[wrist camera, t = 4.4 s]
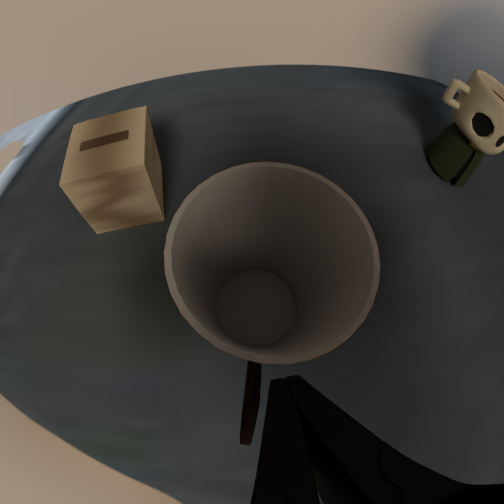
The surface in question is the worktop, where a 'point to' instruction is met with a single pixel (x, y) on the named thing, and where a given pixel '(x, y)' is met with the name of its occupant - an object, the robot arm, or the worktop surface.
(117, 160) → the numbered maple block
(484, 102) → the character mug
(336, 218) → the coffee mug
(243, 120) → the worktop surface
